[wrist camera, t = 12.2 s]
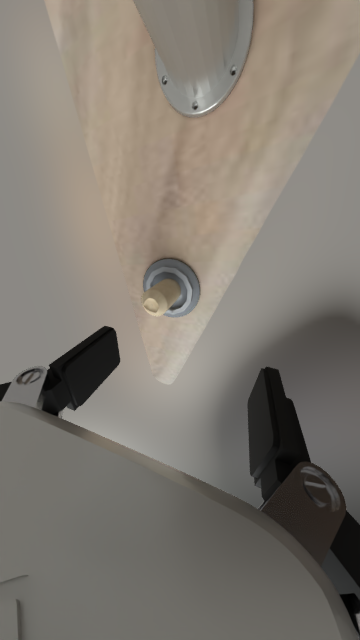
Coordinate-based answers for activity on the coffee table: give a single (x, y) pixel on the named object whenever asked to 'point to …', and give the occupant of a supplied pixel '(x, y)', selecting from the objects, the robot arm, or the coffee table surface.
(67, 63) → the coffee table surface
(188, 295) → the candle dish
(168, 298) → the candle
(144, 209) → the coffee table surface
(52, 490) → the robot arm
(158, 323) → the coffee table surface
